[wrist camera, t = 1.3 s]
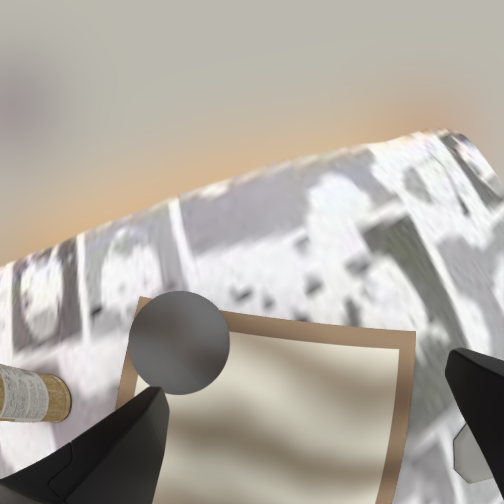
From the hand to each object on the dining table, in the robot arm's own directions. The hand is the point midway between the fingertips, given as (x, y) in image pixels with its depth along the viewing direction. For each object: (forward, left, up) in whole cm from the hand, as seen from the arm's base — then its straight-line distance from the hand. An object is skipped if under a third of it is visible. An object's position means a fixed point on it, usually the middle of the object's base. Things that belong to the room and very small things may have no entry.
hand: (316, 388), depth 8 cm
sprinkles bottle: (-6, +20, -15) cm, 25 cm away
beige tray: (-5, +2, -14) cm, 15 cm away
